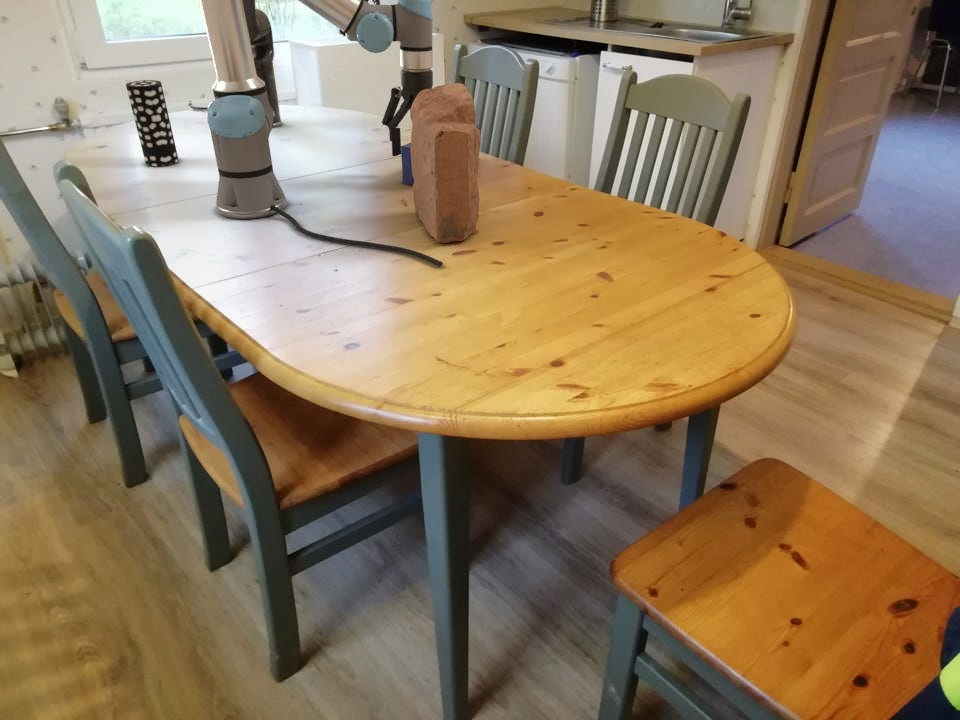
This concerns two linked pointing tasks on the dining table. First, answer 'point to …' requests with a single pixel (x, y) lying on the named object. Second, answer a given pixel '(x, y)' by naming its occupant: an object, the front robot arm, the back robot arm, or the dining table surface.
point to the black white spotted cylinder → (152, 122)
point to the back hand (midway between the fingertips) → (357, 35)
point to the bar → (408, 164)
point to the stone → (445, 161)
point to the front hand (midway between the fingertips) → (418, 159)
